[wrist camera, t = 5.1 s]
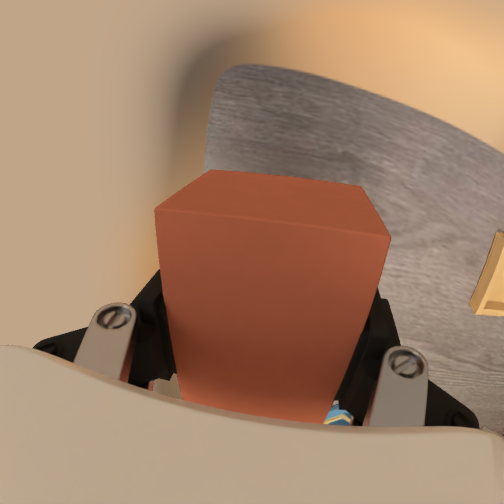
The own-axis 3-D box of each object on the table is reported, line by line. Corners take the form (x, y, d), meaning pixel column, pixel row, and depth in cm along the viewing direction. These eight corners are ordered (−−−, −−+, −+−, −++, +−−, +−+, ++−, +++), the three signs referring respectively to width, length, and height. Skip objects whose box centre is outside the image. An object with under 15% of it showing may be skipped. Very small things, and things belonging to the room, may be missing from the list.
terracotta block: (210, 169, 10) (153, 208, 6) (361, 186, 9) (392, 236, 6) (213, 344, 13) (185, 414, 10) (320, 361, 13) (317, 436, 9)
